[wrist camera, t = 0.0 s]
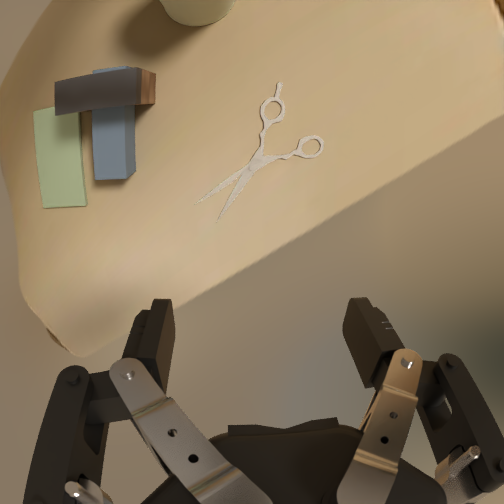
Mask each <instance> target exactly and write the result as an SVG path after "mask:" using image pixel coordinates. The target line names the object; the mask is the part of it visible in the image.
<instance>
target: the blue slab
mask: <svg viewBox="0 0 504 504" xmlns="http://www.w3.org/2000/svg"><path fill="white" fill-rule="evenodd" d="M127 68H131V67H128V66H122V67H114V68H107V69H100V70H94V71H93V74H95V73H101V72H107V71H113V70H120V69H127ZM92 139H93V159H94V173H95V180H106V179H127V178H128V177H129V176H130V175H132V174H133V173H134V172H135V171H136V162H135V105H125V106H116V107H108V108H101V109H94V110H92Z"/></svg>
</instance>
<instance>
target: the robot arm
mask: <svg viewBox="0 0 504 504" xmlns="http://www.w3.org/2000/svg"><path fill="white" fill-rule="evenodd" d="M343 336H344V338H345V341H346V343H347V346H348V348H349V350H350V353H351V355H352V357H353V360H354V362H355V365H356V367H357V369H358V372H359V374H360V377H361V379H362V382H363V384H364V387H365V388H371V387H374V388H375V390H376V391H375V393H374V395H373V397H372V400H371V402H370V404H369V407H368V409H367V411H366V413H365V416H364V418H363V420H362V422H361V424H360V426H359V428H358V429H356V428H353V427H350V426H347V425H340V424H339V423H338V420H337V417H334V418H327V419H320V420H311V421H309V422H305V423H302V424H300V425H296V426H293V427H290V428H286V429H280V428H274V427H267V426H261V425H228V432H227V433H223V434H220V435H217V436H214V437H212V438H210V439H209V440H208V439H207V438H206V437H205V436H204V435H203V434H202V433H201V432H200V430H199V429H198V428H197V427H196V426H195V425H194V424H193V422H192V421H191V420H190V419H189V418H188V416H187V415H186V414H185V413H184V412H183V410H182V409H181V408H180V407H179V405H178V404H177V403H176V402H175V400H174V399H173V398H171V397H169V398H168V397H166V390H167V383H168V377H169V370H170V365H171V359H172V353H173V347H174V341H175V323H174V316H173V308H172V301H171V299H154V300H153V303H152V306H151V309H150V310H142V311H141V312H140V313H139V314H138V315H137V316H136V317H135V320H134V323H133V327H132V328H131V331H130V334H129V337H128V340H127V343H126V346H125V349H124V352H123V355H122V358H121V359H120V360H118V361H116V362H115V363H114V364H113V365H112V366H111V368H110V370H108V371H104V372H98V373H92V374H89V373H88V371H87V370H86V369H85V368H84V367H81V366H77V365H74V366H69V367H67V368H65V369H63V370H62V371H61V372H60V374H59V375H58V377H57V380H56V383H55V386H54V389H53V391H52V394H51V397H50V400H49V403H48V406H47V409H46V412H45V416H44V418H43V422H42V425H41V428H40V432H39V435H38V439H37V443H36V446H35V450H34V454H33V458H32V462H31V466H30V471H29V475H28V479H27V484H26V489H25V494H24V500H23V504H113V501H112V499H111V498H110V496H109V495H108V494H107V493H105V492H104V491H103V490H102V489H101V488H100V484H101V476H102V468H103V461H104V453H105V447H106V440H107V434H108V428H109V423H110V422H116V421H122V420H128V419H130V421H131V422H132V424H133V425H134V427H135V429H136V430H137V432H138V433H139V435H140V436H141V438H142V439H143V441H144V442H145V444H146V445H147V447H148V448H149V450H150V451H151V453H152V454H153V456H154V458H155V459H156V461H157V462H158V464H159V465H160V466H161V468H162V469H163V470H164V472H165V473H166V474H167V475H168V478H167V479H166V480H165V481H164V482H163V483H162V484H161V485H160V486H159V487H158V488H157V489H156V490H155V491H154V492H153V493H152V494H150V495H149V496H148V497H147V498H146V499H145V500H144V501H143V502H142V503H141V504H474V503H476V502H477V501H479V500H481V499H482V498H484V497H485V496H487V495H489V494H490V493H491V492H493V491H495V490H496V489H498V488H499V487H500V486H502V485H503V484H504V438H503V435H502V434H501V431H500V429H499V427H498V425H497V423H496V422H495V419H494V417H493V415H492V413H491V411H490V409H489V407H488V406H487V404H486V402H485V400H484V398H483V396H482V394H481V393H480V391H479V389H478V387H477V386H476V384H475V382H474V380H473V378H472V377H471V375H470V373H469V372H468V370H467V368H466V367H465V365H464V363H463V362H462V360H461V359H460V358H459V357H457V356H456V355H453V354H449V353H446V354H443V355H441V356H440V357H439V359H438V361H437V362H433V361H423V360H422V359H421V357H420V356H419V355H418V354H417V353H416V352H414V351H413V350H410V349H405V347H404V345H403V343H402V342H401V340H400V338H399V337H398V335H397V333H396V332H395V330H394V329H393V327H392V325H391V324H390V323H389V320H388V319H387V317H386V315H385V314H384V313H383V312H382V311H380V310H379V309H378V308H377V307H373V306H372V305H371V303H370V301H369V300H368V298H366V297H362V298H351V299H350V300H349V303H348V307H347V311H346V315H345V318H344V322H343ZM445 398H447V400H448V402H449V404H450V406H451V408H452V415H451V412H450V410H449V408H448V406H447V404H446V402H445ZM415 409H417V411H418V414H419V416H420V419H421V421H422V424H423V426H424V429H425V432H426V434H427V437H428V440H429V442H430V445H431V448H432V450H433V453H434V456H435V459H436V462H437V465H438V466H437V467H436V470H435V478H434V479H433V478H431V477H430V476H428V475H426V474H425V473H423V472H422V471H420V470H419V469H417V468H415V467H414V466H412V465H411V464H409V463H408V462H406V461H405V460H403V459H402V458H400V457H401V455H402V452H403V449H404V445H405V443H406V440H407V437H408V434H409V430H410V427H411V424H412V420H413V417H414V413H415Z"/></svg>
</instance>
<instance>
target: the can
mask: <svg viewBox="0 0 504 504" xmlns="http://www.w3.org/2000/svg"><path fill="white" fill-rule="evenodd" d="M159 1H160V2H161V3H162V5H163V6H164V8H165V11H166V13H167V14H168V15H169V16H170V17H171V18H172V19H173V20H174V21H176V22H178V23H180V24H183V25H187V26H203V25H208V24H211V23H214V22H216V21H218V20H220V19H221V18H223V17H224V16H225V15H226V14H227V13H228V12H229V11H230V10H231V8H232V7H233V5H234V2H235V0H159Z"/></svg>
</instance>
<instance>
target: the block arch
mask: <svg viewBox="0 0 504 504" xmlns="http://www.w3.org/2000/svg"><path fill="white" fill-rule="evenodd" d="M155 82H156V74H155V73H152V72H149V71H146V70H143V69H140V68H137V67H135V68H127V69H120V70H113V71H107V72H101V73H95V74H90V75H85V76H80V77H75V78H70V79H66V80H62V81H58V82H55V116H58V115H64V114H70V113H77V112H84V111H90V110H94V109H101V108H108V107H116V106H125V105H141V104H153V103H155Z"/></svg>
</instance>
